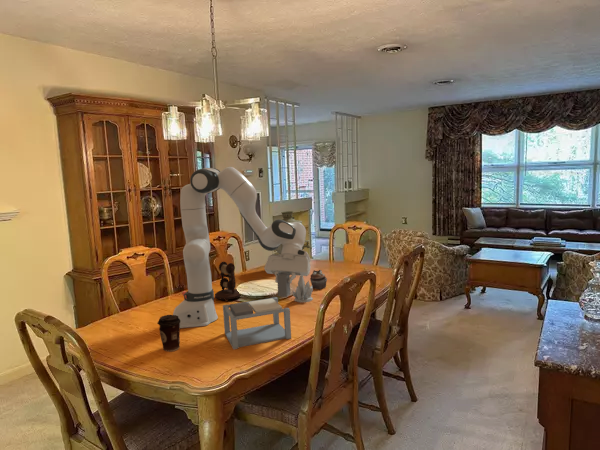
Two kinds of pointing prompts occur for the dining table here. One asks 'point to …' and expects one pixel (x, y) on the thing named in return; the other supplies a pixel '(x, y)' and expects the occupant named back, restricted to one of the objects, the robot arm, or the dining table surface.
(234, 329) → the frame
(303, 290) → the crystal
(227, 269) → the coffee pod holder
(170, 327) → the coffee cup
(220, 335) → the dining table surface
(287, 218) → the samovar
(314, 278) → the cupcake
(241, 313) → the trapdoor
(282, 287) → the stone
